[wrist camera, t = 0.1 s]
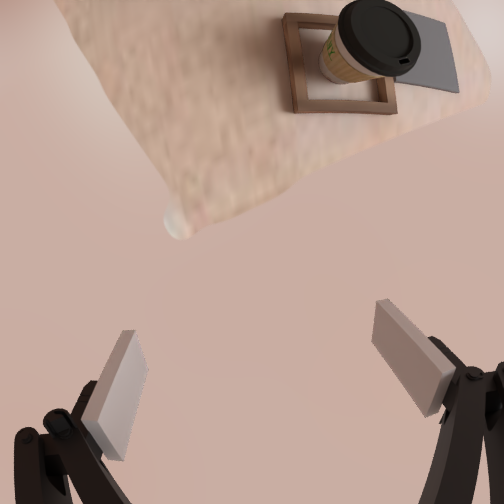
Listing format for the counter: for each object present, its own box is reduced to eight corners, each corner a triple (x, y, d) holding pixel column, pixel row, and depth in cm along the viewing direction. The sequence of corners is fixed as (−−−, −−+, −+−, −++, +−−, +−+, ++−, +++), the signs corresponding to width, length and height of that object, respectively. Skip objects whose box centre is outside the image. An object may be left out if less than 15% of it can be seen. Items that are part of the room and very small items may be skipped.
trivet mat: (378, 7, 33) (380, 5, 32) (441, 24, 33) (445, 23, 32) (393, 82, 37) (396, 80, 36) (456, 93, 38) (459, 92, 37)
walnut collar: (281, 19, 33) (285, 12, 31) (375, 27, 34) (382, 22, 32) (294, 113, 38) (298, 110, 36) (389, 115, 39) (397, 113, 36)
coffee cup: (349, 30, 34) (397, -10, 20) (379, 85, 37) (439, 64, 23) (293, 46, 35) (326, 0, 21) (325, 105, 38) (374, 83, 24)
